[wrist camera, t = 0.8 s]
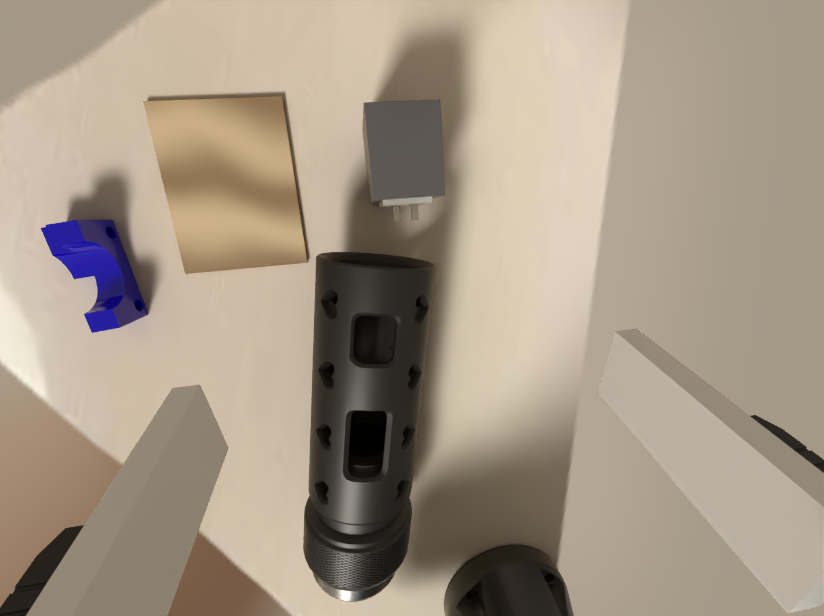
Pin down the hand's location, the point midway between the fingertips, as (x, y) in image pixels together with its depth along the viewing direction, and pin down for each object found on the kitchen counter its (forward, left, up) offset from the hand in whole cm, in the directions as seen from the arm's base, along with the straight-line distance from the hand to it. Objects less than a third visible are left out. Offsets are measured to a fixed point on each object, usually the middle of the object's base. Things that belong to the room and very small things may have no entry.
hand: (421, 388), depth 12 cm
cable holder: (+3, +22, -22) cm, 32 cm away
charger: (+10, -2, -22) cm, 24 cm away
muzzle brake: (-11, +3, -22) cm, 25 cm away
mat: (+9, +11, -22) cm, 26 cm away
